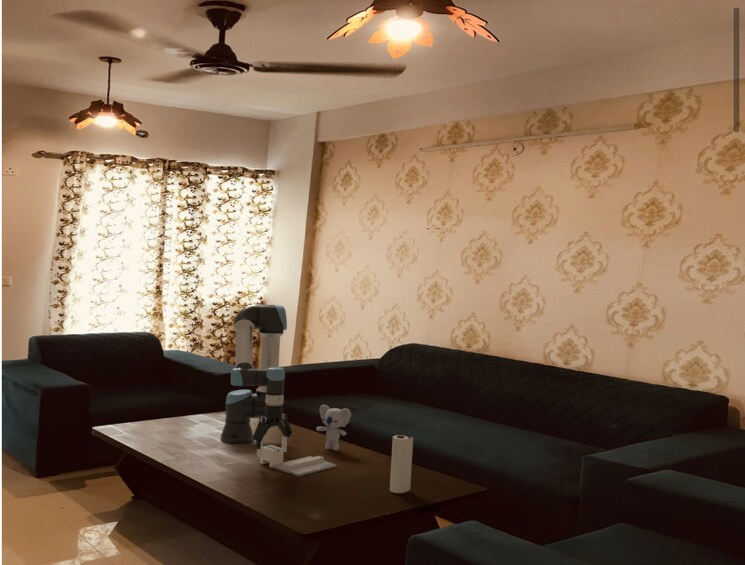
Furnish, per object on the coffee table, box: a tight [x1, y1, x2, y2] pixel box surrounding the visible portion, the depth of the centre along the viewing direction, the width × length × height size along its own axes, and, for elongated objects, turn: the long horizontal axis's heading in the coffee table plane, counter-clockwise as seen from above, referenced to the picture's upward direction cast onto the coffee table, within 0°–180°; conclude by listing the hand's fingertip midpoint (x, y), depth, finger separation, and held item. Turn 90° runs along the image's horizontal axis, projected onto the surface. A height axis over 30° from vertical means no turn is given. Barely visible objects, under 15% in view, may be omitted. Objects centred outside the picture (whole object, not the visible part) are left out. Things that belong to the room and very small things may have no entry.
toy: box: [315, 404, 352, 452], centre depth 335 cm, size 17×10×20 cm, turn 62°
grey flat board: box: [271, 455, 337, 477], centre depth 305 cm, size 16×22×3 cm
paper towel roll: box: [389, 434, 414, 494], centre depth 280 cm, size 7×6×21 cm
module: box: [259, 444, 285, 468], centre depth 307 cm, size 8×6×7 cm
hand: (271, 454), depth 307 cm, fingers open, 13 cm apart
